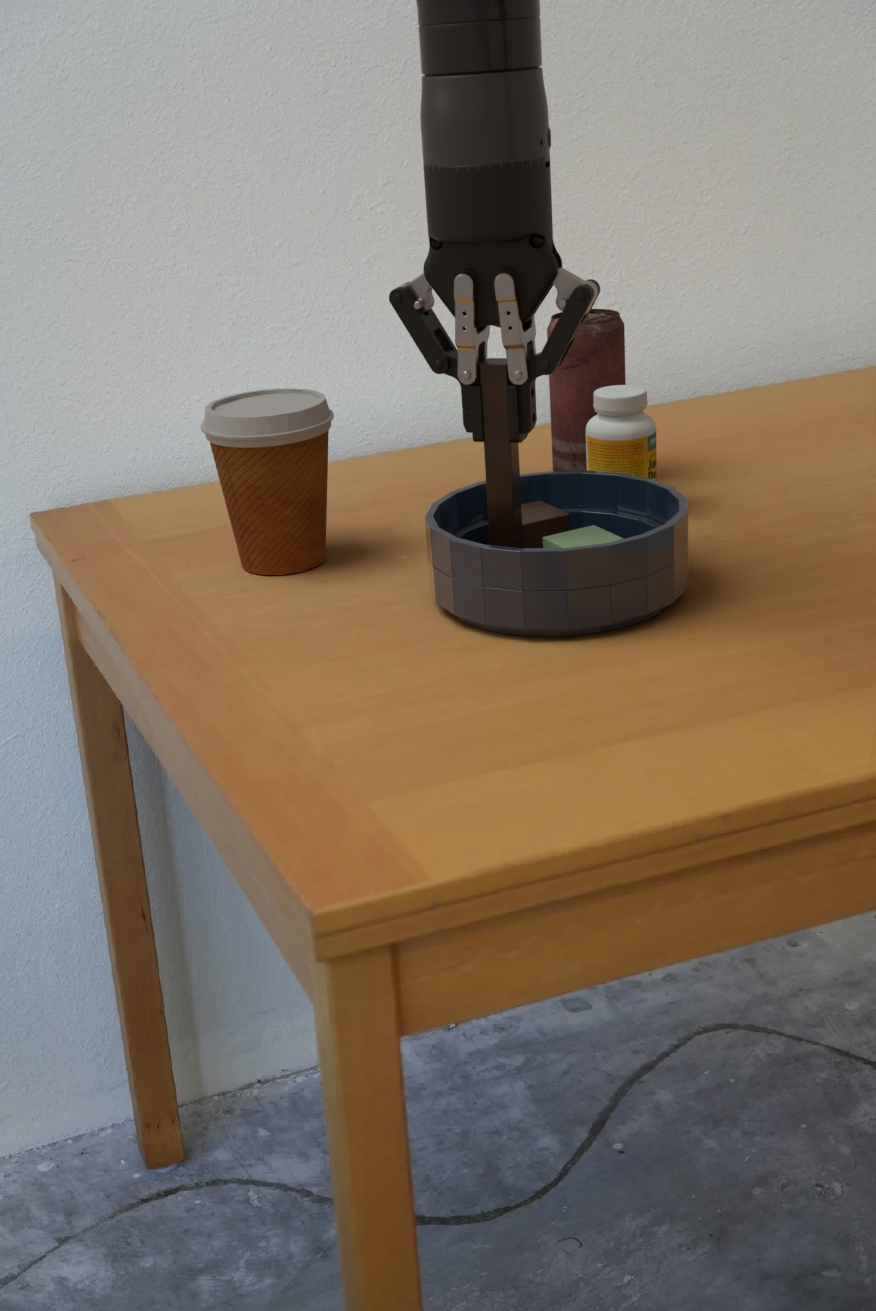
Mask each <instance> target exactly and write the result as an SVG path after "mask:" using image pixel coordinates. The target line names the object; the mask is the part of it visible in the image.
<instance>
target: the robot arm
mask: <svg viewBox="0 0 876 1311" xmlns="http://www.w3.org/2000/svg"><path fill="white" fill-rule="evenodd" d="M415 3H416V8H417V10H416V11H417V26H418V28H417V29H418V40H419V41H418V42H419V43H418V44H419V57H420V71H421V75H422V76H421V95H420V96H421V98H420V99H421V100H420V114H419V115H420V116H419V118H420V136H421V152H422V163H423V164H422V165H423V179H424V180H423V181H424V194H425V210H426V219H427V220H426V223H427V235H428V236H427V237H428V241H429V242H428V244H429V248H428V253H427V256H426V258H425V260H424V263H423V272H422V273H421V274H420V275H418V276H417V277H415V278H414V279H412V280H411V281H407V282H405V283H403V284H401V285H399V286H397V287H395V288H393V289H392V290H390V292H389V294H388V301H389V303H390V306H392V308H393V309H394V311H395V313H396V314H397V316H398V318H399V320H400V321H401V323H402V324H403V326H404V328H405V329H406V331H407V332H408V334H409V336H410V337H411V338H412V340H413V342H414V344H415V345H416V347H417V349H418V350H419V352H420V353H421V355H422V357H423V358H424V360H425V362H426V363H427V365H428V366H429V368H430V370H431V371H432V372H433V373H434V374H436V375H445V376H449V377H452V378H454V379H455V380H456V381H457V382H458V383H459V386H460V392H461V409H462V425H463V427H464V430H465V432H466V433H470V434H471V433H472V441H473V442H475V443H484V431H483V413H482V396H481V385H480V368H479V365H480V364H481V363H482V362H483V361H485V360H486V359H487V358H488V342H489V341H488V340H489V338H490V332H491V329H490V328H491V326H493V327H496V328H500V333H501V343H502V347H503V348H504V349H505V356H506V357H505V358H507V366H508V374H509V379H510V384H509V385H507V386H506V397H507V417H508V436H509V442H511V443H518V444H522V443H523V442H524V441H525V440H526V439H527V438H528V436H529V434H530V433H531V432H532V431H533V430H534V429H535V426H536V425H537V421H538V417H537V416H538V415H537V391H536V381H537V378H539V377H542V376H549V374H551V373H552V372H554V370H555V369H556V368H557V367H559V366H560V365H561V364H562V363H563V362H564V360H565V358H566V356H567V354H568V352H569V350H570V349H571V347H572V345H573V343H574V341H575V339H576V337H577V335H578V333H579V331H580V330H581V328H582V326H583V324H584V322H585V320H586V318H587V316H588V314H589V312H590V311H591V309H593V307H594V305H595V303H596V301H597V300H598V297H599V295H600V293H601V286H600V283H599V282H598V281H597V280H595V279H593V278H590V279H586V280H585V279H583V278H581V277H580V276H578V275H576V274H574V273H572V272H571V271H569V270H567V269H566V268H564V267H563V260H562V257H561V255H560V253H559V252H558V250H557V248H556V245H555V242H554V235H553V234H554V229H553V228H554V227H553V203H552V202H553V201H552V174H551V173H552V172H551V147H552V135H551V134H552V132H551V128H550V121H549V120H550V119H549V118H550V117H549V106H548V98H547V92H546V87H545V81H544V80H545V79H544V72H543V70H544V69H543V67H541V66H542V65H543V51H542V28H541V27H542V26H541V24H542V23H541V0H415ZM553 287H555V289H556V291H557V292H556V294H557V295H556V298H555V305H556V307H557V309H558V310H559V311H560V312H562V313H561V315H560V317H559V319H558V321H557V323H556V325H555V327H554V329H553V331H552V333H551V334H550V336H549V338H548V340H547V339H546V342H545V344H544V346H543V347H542V350H541V352H538V353H537V348H536V337H537V336H536V335H537V329H536V328H537V327H536V326H537V325H536V319H535V318H536V317H535V314H536V313H537V311H538V309H539V308H540V307H541V306H542V304H543V302H544V301H545V299H546V297H547V295H548V294H549V293H550V292H551V290H552V289H553ZM433 291H434V293H435V294H436V295H437V297H438V298H439V299H440V300H441V302H442V303H443V305H444V306H445V307H446V308H447V310H448V311H449V312H450V314H451V316H453V318H454V342H453V340H452V339H451V337H450V336H449V334H448V332H447V330H446V329H445V327H444V326H443V324H442V322H441V321H440V319H439V317H438V315H436V313H435V311H434V309H433V308H434V306H435V301H436V300H435V297H434V294H433Z"/></svg>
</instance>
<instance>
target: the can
mask: <svg viewBox="0 0 876 1311" xmlns="http://www.w3.org/2000/svg"><path fill="white" fill-rule="evenodd" d="M561 313H562V311H560V312H557V313H555V314H552V315H551V317H550V321H549V324H548V326H547V328H546V336H547V338H546V341H547V340H548V338H549V336H550V334H551V333H552V331H553V329H554V327H555V325H556V323H557V321H558V319H559V317H560V315H561ZM625 332H626V331H625V323H624V321H623V318H621V314H620V312H619V311H618V310H613V309H608V308H607V309H606V308H592V309H591V311H590V312H589V314H588V316H587V318H586V320H585V322H584V324H583V326H582V328H581V330H580V331H579V333H578V335H577V337H576V339H575V341H574V343H573V345H572V347H571V349H570V350H569V352H568V354H567V356H566V358H565V360H564V362H563V363H562V364H561V365H560V366H559V367H557V368H556V369H555V370H554V372H552V373H551V374H549V375H548V387H549V409H550V433H551V435H550V436H551V456H552V457H551V458H552V471H587V460H586V425H587V423H588V421H589V420H590V419H591V418H592V417H594V416H595V415H597V412H596V411H595V410H594V407H593V404H594V391H595V390H597V389H599V388H602V387H607V386H613V385H627V382H626V379H627V378H626V341H625V340H626V335H625Z"/></svg>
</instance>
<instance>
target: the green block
mask: <svg viewBox="0 0 876 1311" xmlns="http://www.w3.org/2000/svg"><path fill="white" fill-rule="evenodd" d="M542 539H543V548H570V547H578V546H587V545H595V544H603V543H608V542H613V541H617V540H621V539H623V538H621V537H619V536H617V535H615V534H612V533H610V532H608V531H606V530H604V529H602V528H599V527H597V526H595V525H592V526H588V527H584V528H579V529H575V530H571V531H567V532H562V533H558V534H554V535H550V536H545V537H543V538H542Z"/></svg>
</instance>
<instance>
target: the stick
mask: <svg viewBox="0 0 876 1311" xmlns="http://www.w3.org/2000/svg"><path fill="white" fill-rule="evenodd" d="M479 368H480V385H481V396H482V413H483V431H484V442H483V453H484V468H485V481H486V489H487V507H488V524H489V542H490V545H493V546H503V547H513V548H523V530H522V509H521V489H520V474H521V470H520V468H521V467H520V452H519V450H520V449H519V448H520V446H519V443H511V442H509V436H508V417H507V397H506V386H507V385H509V384H510V379H509V374H508V366H507V357H487V359H486V360H485V361H483V362H482V363H481V364H480V365H479Z"/></svg>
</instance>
